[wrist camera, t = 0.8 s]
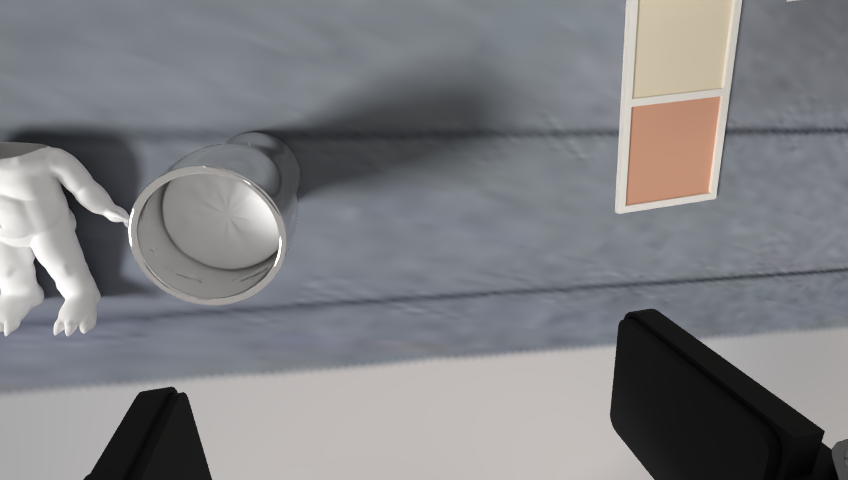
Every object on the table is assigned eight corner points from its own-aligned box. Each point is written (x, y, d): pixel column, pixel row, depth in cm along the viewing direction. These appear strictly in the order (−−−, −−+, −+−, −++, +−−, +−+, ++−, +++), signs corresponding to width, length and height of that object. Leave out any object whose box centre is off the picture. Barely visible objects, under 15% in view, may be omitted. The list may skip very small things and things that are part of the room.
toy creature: (-77, 343, 30) (-181, 171, 24) (-19, 285, 35) (-91, 131, 29) (129, 338, 32) (85, 181, 26) (156, 284, 37) (125, 142, 31)
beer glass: (325, 175, 35) (323, 239, 21) (261, 236, 36) (218, 337, 22) (254, 104, 33) (199, 125, 19) (186, 171, 33) (84, 239, 20)
